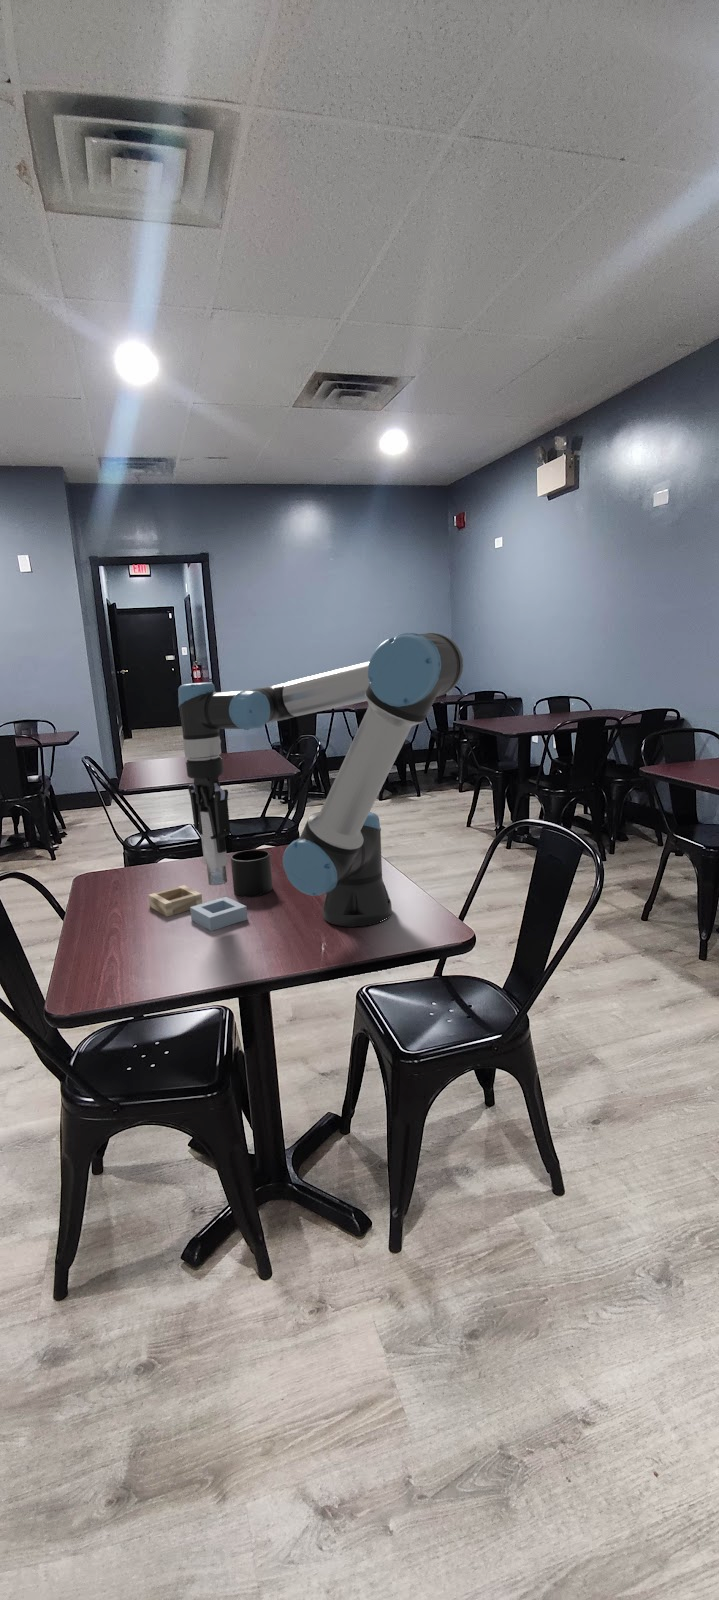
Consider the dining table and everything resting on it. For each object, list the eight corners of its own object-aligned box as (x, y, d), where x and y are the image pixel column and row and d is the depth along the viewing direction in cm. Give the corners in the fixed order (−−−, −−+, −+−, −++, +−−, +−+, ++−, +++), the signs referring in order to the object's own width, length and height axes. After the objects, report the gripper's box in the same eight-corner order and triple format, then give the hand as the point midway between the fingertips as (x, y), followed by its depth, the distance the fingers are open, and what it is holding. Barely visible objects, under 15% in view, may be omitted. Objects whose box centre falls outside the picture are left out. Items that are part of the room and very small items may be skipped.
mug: (268, 879, 185) (265, 845, 183) (275, 894, 173) (272, 858, 171) (231, 883, 183) (228, 849, 181) (235, 899, 171) (232, 863, 169)
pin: (230, 881, 157) (222, 810, 153) (214, 886, 154) (205, 814, 151) (221, 878, 160) (213, 807, 156) (205, 882, 157) (196, 811, 154)
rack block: (202, 905, 168) (201, 893, 167) (166, 916, 162) (165, 904, 162) (185, 896, 175) (183, 885, 174) (149, 906, 169) (148, 894, 168)
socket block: (247, 919, 158) (246, 906, 158) (211, 931, 153) (209, 917, 152) (227, 908, 165) (225, 896, 165) (191, 919, 160) (190, 907, 159)
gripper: (240, 757, 147) (251, 867, 152) (200, 752, 160) (212, 853, 165) (207, 763, 142) (219, 876, 147) (169, 757, 155) (182, 861, 160)
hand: (215, 864), depth 156 cm, fingers closed on pin, 4 cm apart
